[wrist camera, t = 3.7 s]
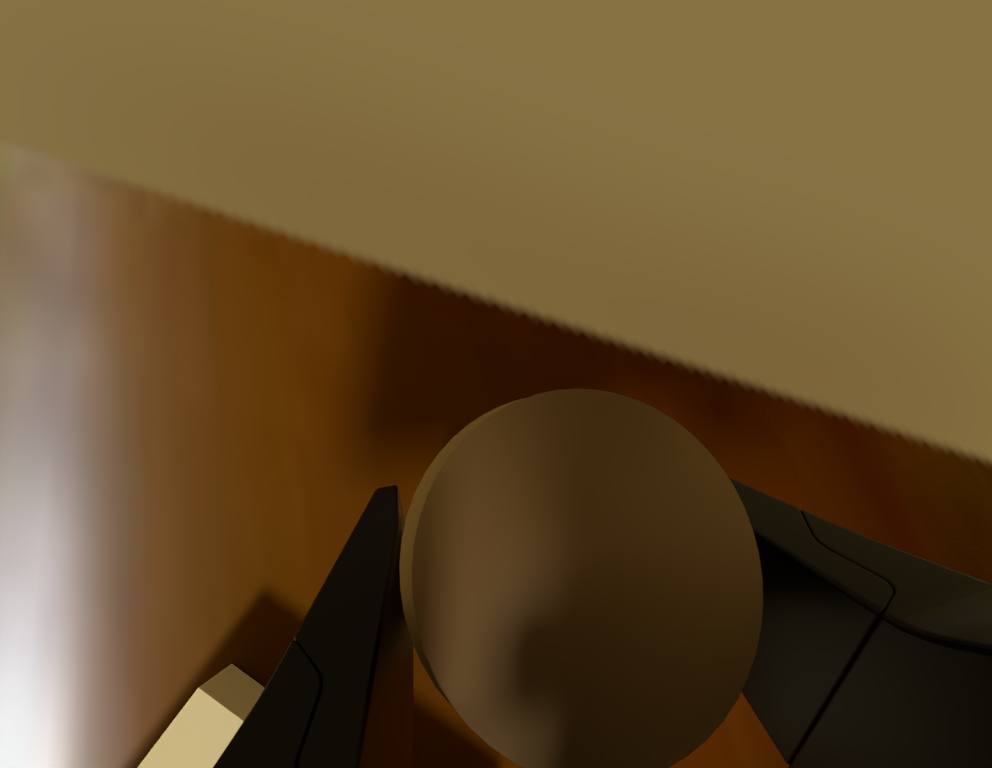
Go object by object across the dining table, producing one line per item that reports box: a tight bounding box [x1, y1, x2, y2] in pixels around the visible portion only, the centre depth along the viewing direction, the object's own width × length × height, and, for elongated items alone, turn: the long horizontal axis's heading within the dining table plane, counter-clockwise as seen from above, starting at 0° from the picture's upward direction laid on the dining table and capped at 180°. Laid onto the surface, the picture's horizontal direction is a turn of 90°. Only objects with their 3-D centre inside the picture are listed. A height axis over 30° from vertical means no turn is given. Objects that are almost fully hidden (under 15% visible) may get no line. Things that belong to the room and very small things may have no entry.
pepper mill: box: [399, 388, 763, 768], centre depth 10 cm, size 5×5×10 cm
